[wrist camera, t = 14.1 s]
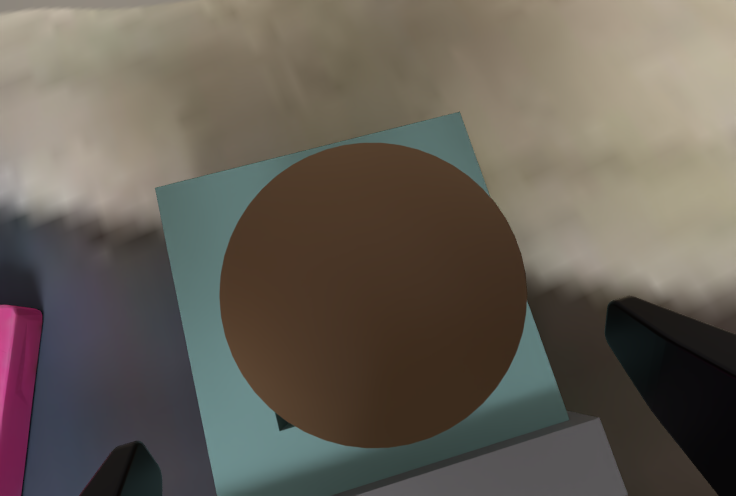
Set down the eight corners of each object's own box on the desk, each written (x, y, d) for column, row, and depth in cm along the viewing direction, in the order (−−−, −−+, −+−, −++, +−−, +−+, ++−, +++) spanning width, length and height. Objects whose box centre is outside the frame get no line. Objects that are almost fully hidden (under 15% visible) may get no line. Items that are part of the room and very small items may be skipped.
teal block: (517, 406, 18) (569, 420, 14) (255, 487, 18) (223, 529, 13) (436, 165, 21) (459, 111, 16) (198, 226, 20) (154, 187, 15)
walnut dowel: (416, 385, 19) (549, 432, 6) (311, 394, 19) (221, 462, 6) (405, 281, 20) (503, 134, 7) (305, 289, 19) (217, 151, 7)
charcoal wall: (547, 456, 18) (627, 494, 13) (256, 550, 17) (212, 634, 12) (528, 401, 19) (599, 417, 13) (243, 490, 18) (196, 546, 12)
